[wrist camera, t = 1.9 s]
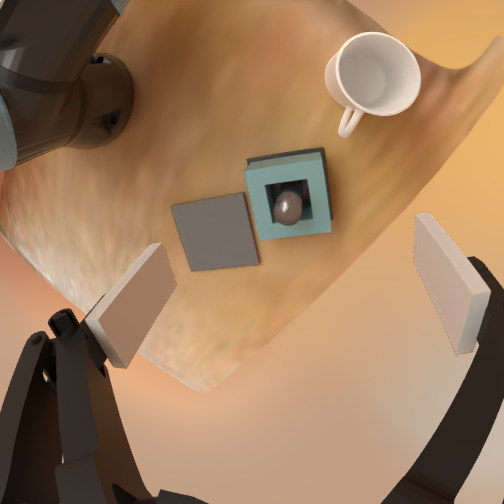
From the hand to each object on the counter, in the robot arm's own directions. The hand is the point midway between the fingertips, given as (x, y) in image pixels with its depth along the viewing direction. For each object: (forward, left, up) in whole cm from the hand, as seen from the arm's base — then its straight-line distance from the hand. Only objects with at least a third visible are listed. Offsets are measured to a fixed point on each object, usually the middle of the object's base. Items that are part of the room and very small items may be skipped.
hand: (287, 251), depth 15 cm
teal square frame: (+5, -2, -26) cm, 27 cm away
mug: (-7, +8, -27) cm, 29 cm away
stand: (+5, -2, -27) cm, 27 cm away
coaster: (+10, -14, -27) cm, 32 cm away
